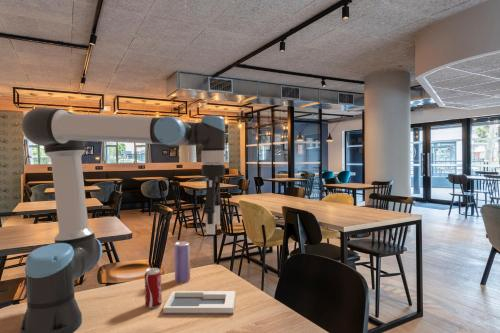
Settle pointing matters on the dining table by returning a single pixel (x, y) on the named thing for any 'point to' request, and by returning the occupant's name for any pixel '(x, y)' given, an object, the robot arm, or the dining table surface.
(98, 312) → the dining table surface
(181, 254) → the beverage can
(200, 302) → the keyhole board
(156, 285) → the soda can
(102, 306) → the dining table surface
